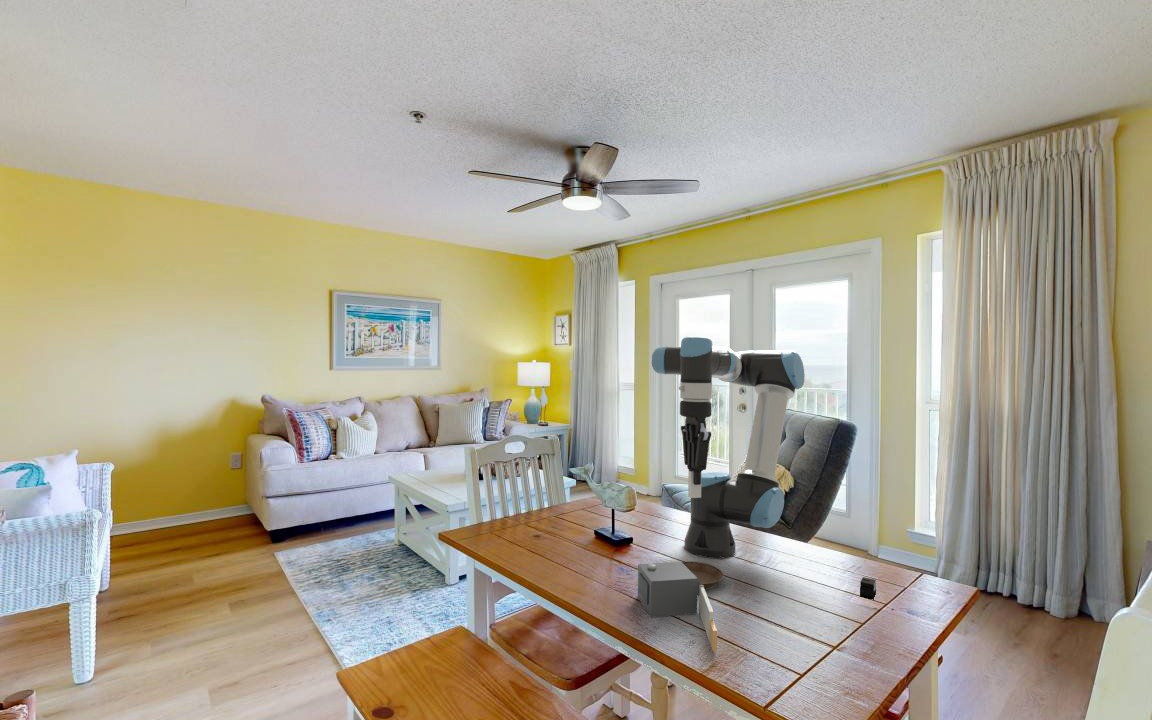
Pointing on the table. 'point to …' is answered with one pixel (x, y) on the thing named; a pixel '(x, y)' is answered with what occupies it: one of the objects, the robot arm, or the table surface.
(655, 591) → the grey box with knob
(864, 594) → the black block
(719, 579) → the saucer
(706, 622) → the light grey flat piece
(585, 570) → the table surface
